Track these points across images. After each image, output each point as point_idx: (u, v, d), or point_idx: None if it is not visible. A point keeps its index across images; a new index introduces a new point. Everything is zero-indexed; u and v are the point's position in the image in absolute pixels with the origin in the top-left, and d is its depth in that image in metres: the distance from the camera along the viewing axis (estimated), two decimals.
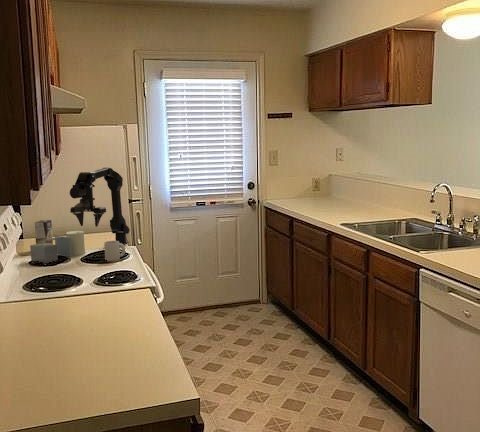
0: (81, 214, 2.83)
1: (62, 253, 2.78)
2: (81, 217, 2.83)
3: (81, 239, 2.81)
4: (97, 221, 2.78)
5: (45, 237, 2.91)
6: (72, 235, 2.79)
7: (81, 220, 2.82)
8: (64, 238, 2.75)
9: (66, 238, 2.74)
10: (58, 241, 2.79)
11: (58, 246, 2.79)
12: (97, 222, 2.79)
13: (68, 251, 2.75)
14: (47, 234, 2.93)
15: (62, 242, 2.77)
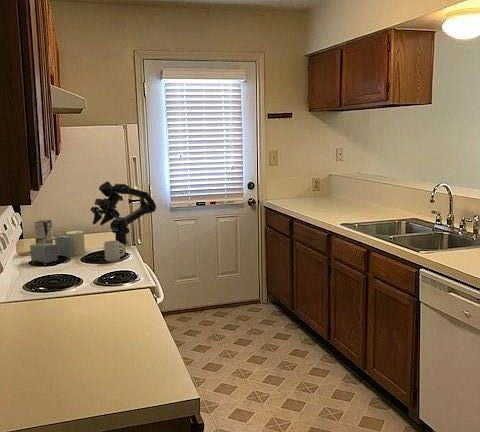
0: (99, 216, 3.00)
1: (62, 253, 2.78)
2: (97, 218, 2.98)
3: (81, 239, 2.81)
4: (104, 220, 2.93)
5: (45, 237, 2.91)
6: (72, 235, 2.79)
7: (96, 219, 2.97)
8: (64, 238, 2.75)
9: (66, 238, 2.74)
10: (58, 241, 2.79)
11: (58, 246, 2.79)
12: (103, 221, 2.93)
13: (68, 251, 2.75)
14: (47, 234, 2.93)
15: (62, 242, 2.77)
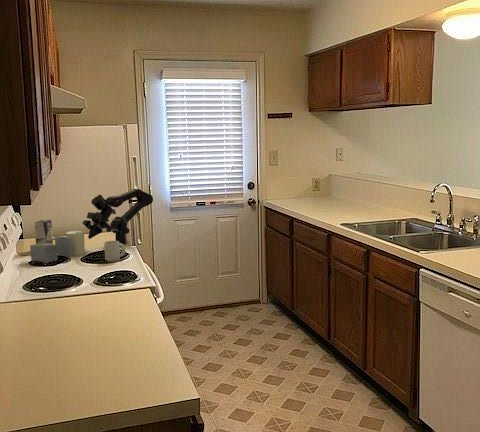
0: None
1: (62, 253, 2.78)
2: None
3: (81, 239, 2.81)
4: (92, 234, 2.91)
5: (45, 237, 2.91)
6: (72, 235, 2.79)
7: None
8: (64, 238, 2.75)
9: (66, 238, 2.74)
10: (58, 241, 2.79)
11: (58, 246, 2.79)
12: (92, 235, 2.91)
13: (68, 251, 2.75)
14: (47, 234, 2.92)
15: (62, 242, 2.77)
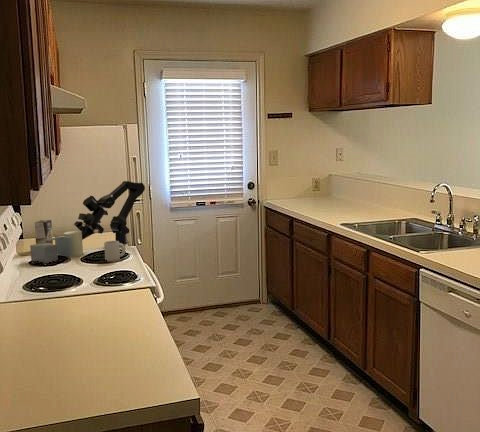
0: None
1: (62, 253, 2.78)
2: None
3: (79, 239, 2.80)
4: (84, 235, 2.86)
5: (45, 237, 2.91)
6: (70, 235, 2.78)
7: None
8: (64, 238, 2.75)
9: (66, 238, 2.74)
10: (58, 241, 2.79)
11: (58, 246, 2.79)
12: (83, 236, 2.86)
13: (68, 251, 2.75)
14: (47, 234, 2.93)
15: (62, 242, 2.77)
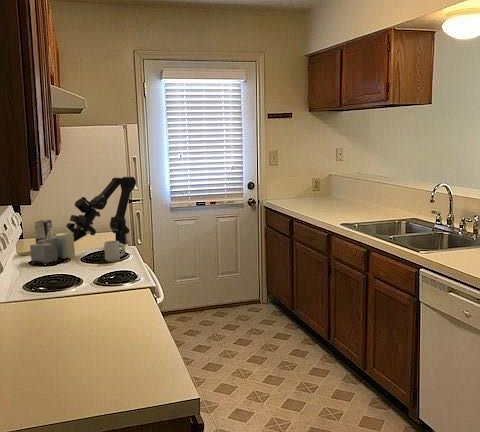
0: None
1: None
2: None
3: (71, 241, 2.76)
4: (76, 237, 2.82)
5: (45, 237, 2.91)
6: (61, 237, 2.73)
7: None
8: (57, 239, 2.72)
9: (59, 239, 2.71)
10: (51, 242, 2.76)
11: None
12: (75, 238, 2.82)
13: (62, 252, 2.72)
14: (47, 234, 2.93)
15: (55, 243, 2.74)
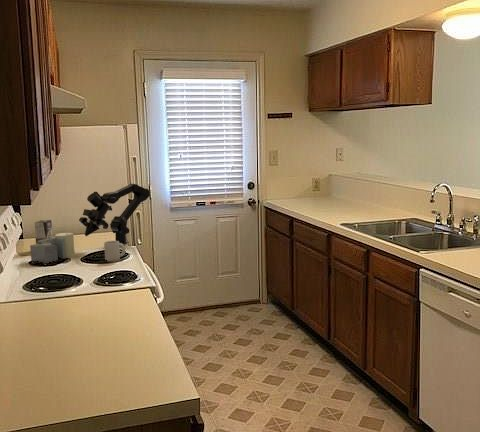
0: None
1: None
2: None
3: (70, 241, 2.76)
4: (89, 231, 2.89)
5: (45, 237, 2.91)
6: (61, 237, 2.73)
7: None
8: (57, 239, 2.72)
9: (59, 239, 2.71)
10: (51, 242, 2.75)
11: None
12: (88, 232, 2.89)
13: (61, 252, 2.71)
14: (47, 234, 2.93)
15: (55, 243, 2.73)
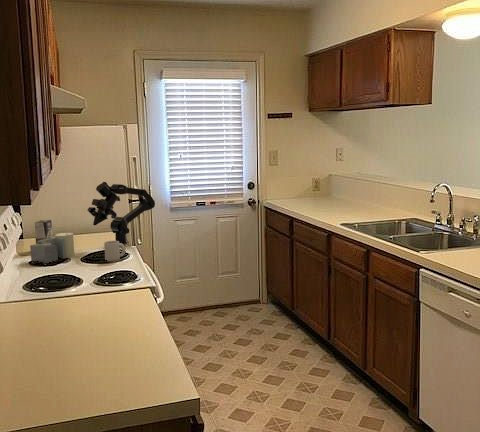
0: None
1: None
2: None
3: (70, 241, 2.76)
4: (97, 220, 2.93)
5: (45, 237, 2.91)
6: (61, 237, 2.73)
7: None
8: (57, 239, 2.72)
9: (59, 239, 2.71)
10: (51, 242, 2.75)
11: None
12: (97, 221, 2.93)
13: (61, 252, 2.71)
14: (47, 234, 2.93)
15: (55, 243, 2.73)
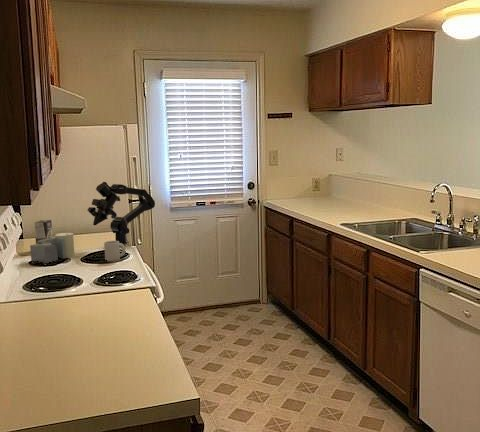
0: None
1: None
2: None
3: (70, 241, 2.76)
4: (97, 220, 2.93)
5: (45, 237, 2.91)
6: (61, 237, 2.73)
7: None
8: (57, 239, 2.72)
9: (59, 239, 2.71)
10: (51, 242, 2.75)
11: None
12: (97, 221, 2.93)
13: (61, 252, 2.71)
14: (47, 234, 2.93)
15: (55, 243, 2.73)
